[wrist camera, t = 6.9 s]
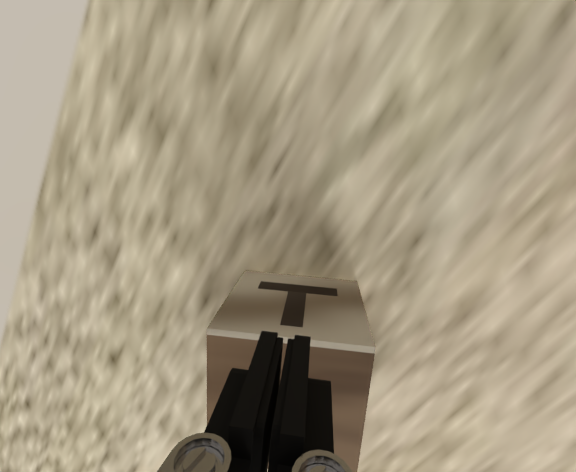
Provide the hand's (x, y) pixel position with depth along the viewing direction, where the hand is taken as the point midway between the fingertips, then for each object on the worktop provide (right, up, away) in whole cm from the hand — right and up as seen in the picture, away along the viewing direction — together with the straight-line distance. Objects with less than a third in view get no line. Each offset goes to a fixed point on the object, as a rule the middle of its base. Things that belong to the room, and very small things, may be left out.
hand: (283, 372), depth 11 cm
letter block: (+1, +1, +6) cm, 6 cm away
